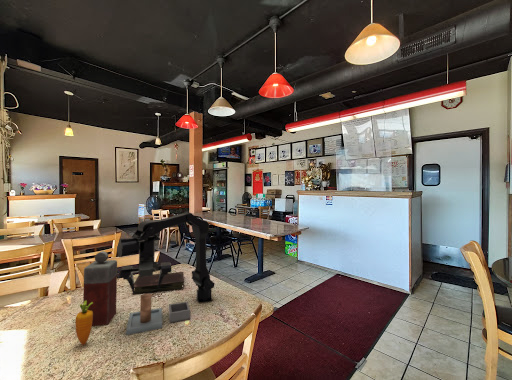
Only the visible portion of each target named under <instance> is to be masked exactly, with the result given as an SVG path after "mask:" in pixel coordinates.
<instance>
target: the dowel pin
mask: <svg viewBox="0 0 512 380" xmlns="http://www.w3.org/2000/svg"><path fill="white" fill-rule="evenodd" d="M139 310H140V311H139V312H140V322H141V323H147V322H149V321H151V310H152V293H147V294H140V307H139Z"/></svg>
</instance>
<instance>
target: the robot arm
mask: <svg viewBox="0 0 512 380" xmlns="http://www.w3.org/2000/svg"><path fill="white" fill-rule="evenodd" d="M184 223H187V224H188V225H189V226H190V227H191V230H192V231H191V232H192V234H193V237H194V239H195V268H194V270H191V279H192V281H193V283H195V286H197V289H196V300H197V301H198V303H199V304H201V303H207V302H211V301H213V298H212V290H213V289H214V287H215V282H214V281H213V280H211V276H210V272H209V270H208V267H207V244H206V243H207V240H206V239H207V236H208V234H209V230H210V224H209V223H210V222H208V221H207V220H204V219H202V218H201V217H198V216H196V215H194V214H193V213H192V212H189V211H188V212H186V211H185V212H183V213H179V214H175V215H173V216H169V217H165V218H162V219H152V220H151V219H149V220H142V221H141V222H140V223H139V224H138V226H137V229H135V232H133V234H132V235H131V237H128V238H123V237H122V238H119V241H118V243H117V246H116V252H117V256H118V257H119V258H123V257H128V256H134V255H135V256H136V255H137V254H138V255H139V256H138V265H137V267H133V265H127V266H126V265H125V266H122V267H121V268H120V270H119V275H118V276H119V278H120V279H123V280H125V281H127V282H128V284H129V287H130V289H131V292H132V293H134V290H135V288H134V283H135V281H134V280H135V279H134V274H138V276H139V277H143V276H152V275H153V274H154V273H156V272H158V271H159V273H158V274H159V281H158V289H159V288H160V285H161V282H162V279H163V277H164V276H165V275H167V274H168V273H172V263H171V262H170V261H167V262H166V261H165V262H160V265H159V261H155V252H156V245H155V244H156V241H161V238H160V237H159V236H158V235H157V234H160V233H161V232H162V231H163V230H166V229H169V228H172V227H174V226H178V225H181V224H184Z"/></svg>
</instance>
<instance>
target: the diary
mask: <svg viewBox="0 0 512 380" xmlns="http://www.w3.org/2000/svg"><path fill="white" fill-rule="evenodd" d="M159 274H160V273H153V275H152V276H143V277H139V275H138V276H137V278H136V279H135V281H134V293H133V292H132V295H136V296H137V295H143V294H154V293H165V292H170V291H174V290H175V291H184V290H183V289H184V288H183V289H182V284H183V283H184V282H185V278H184V277H185V275H184V274H185V272H184V271H179V272H178V271H177V272H176V271H175V272H169V273H168V274H167V275H165V276H164V277H163V279H162V282H161V285H160V288H159V289H158V281H159Z"/></svg>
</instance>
